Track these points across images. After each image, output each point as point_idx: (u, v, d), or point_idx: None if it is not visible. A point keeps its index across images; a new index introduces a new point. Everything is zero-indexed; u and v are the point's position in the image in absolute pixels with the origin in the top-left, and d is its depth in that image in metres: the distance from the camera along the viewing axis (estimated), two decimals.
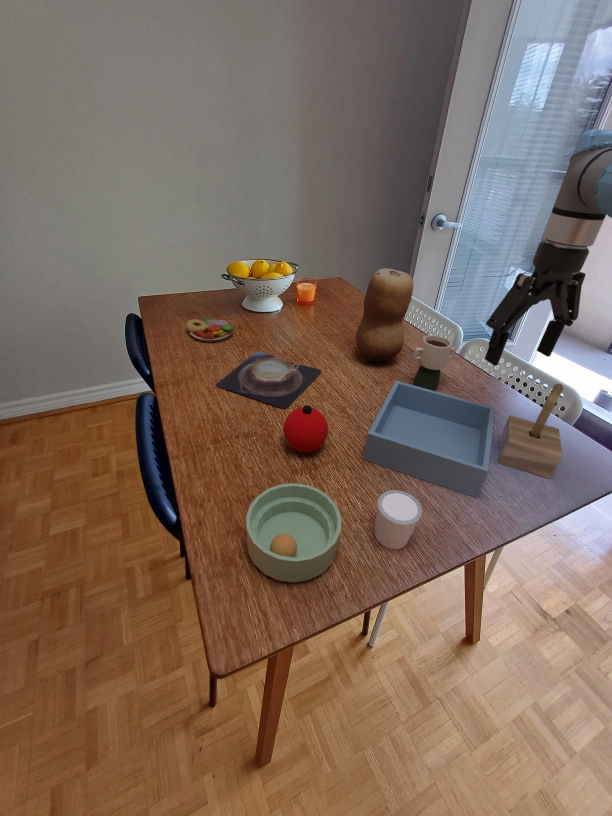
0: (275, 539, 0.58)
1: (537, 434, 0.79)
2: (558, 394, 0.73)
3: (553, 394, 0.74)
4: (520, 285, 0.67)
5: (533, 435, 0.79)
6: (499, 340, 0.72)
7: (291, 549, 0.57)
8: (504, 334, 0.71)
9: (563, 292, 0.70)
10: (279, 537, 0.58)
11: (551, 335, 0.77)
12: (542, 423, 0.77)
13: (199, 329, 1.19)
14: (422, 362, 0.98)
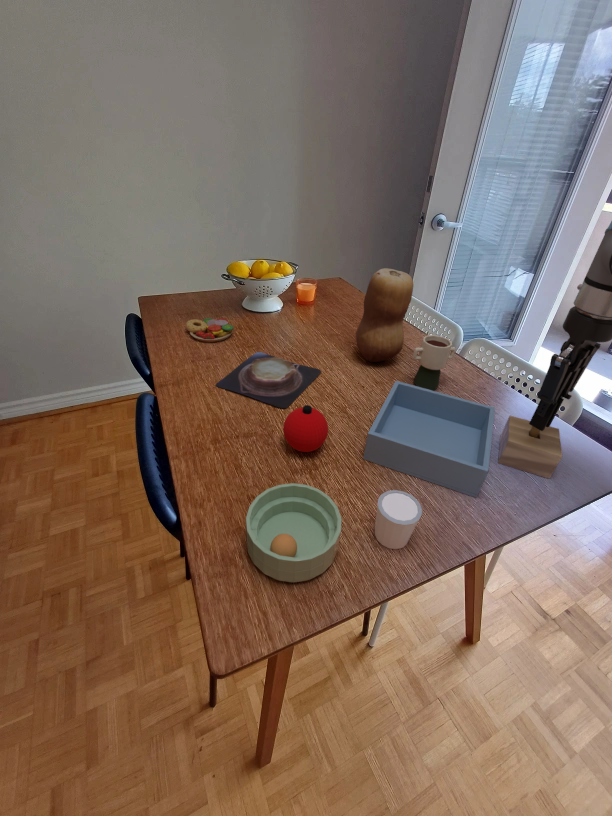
0: (275, 539, 0.58)
1: (536, 433, 0.79)
2: None
3: None
4: (558, 366, 0.67)
5: (532, 435, 0.80)
6: (548, 409, 0.74)
7: (291, 549, 0.57)
8: (553, 404, 0.74)
9: (588, 358, 0.69)
10: (279, 537, 0.58)
11: None
12: None
13: (199, 329, 1.19)
14: (422, 362, 0.98)
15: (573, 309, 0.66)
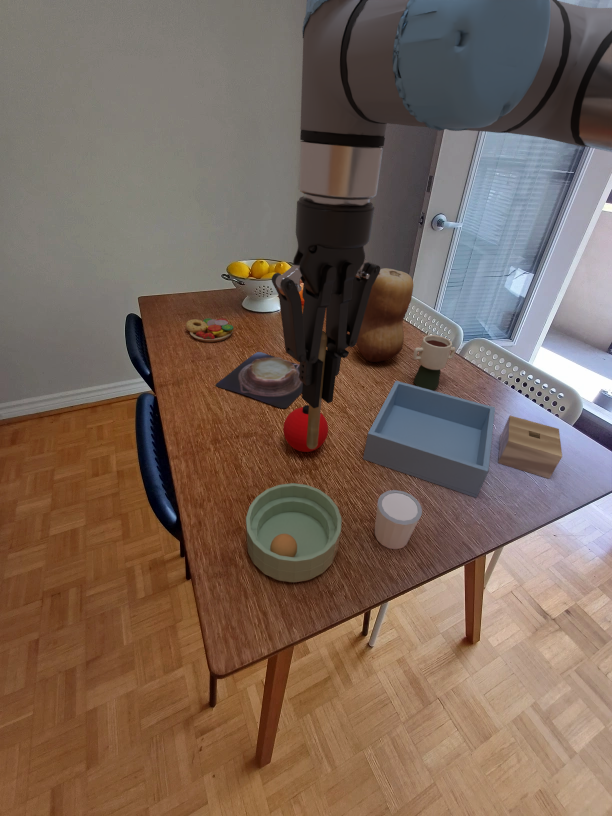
0: (275, 539, 0.58)
1: (314, 413, 0.52)
2: (320, 347, 0.47)
3: None
4: (283, 294, 0.40)
5: (310, 414, 0.53)
6: (311, 373, 0.48)
7: (291, 549, 0.57)
8: (315, 364, 0.47)
9: (347, 285, 0.42)
10: (279, 537, 0.58)
11: (325, 372, 0.50)
12: None
13: (199, 329, 1.19)
14: (422, 362, 0.98)
15: (303, 196, 0.39)
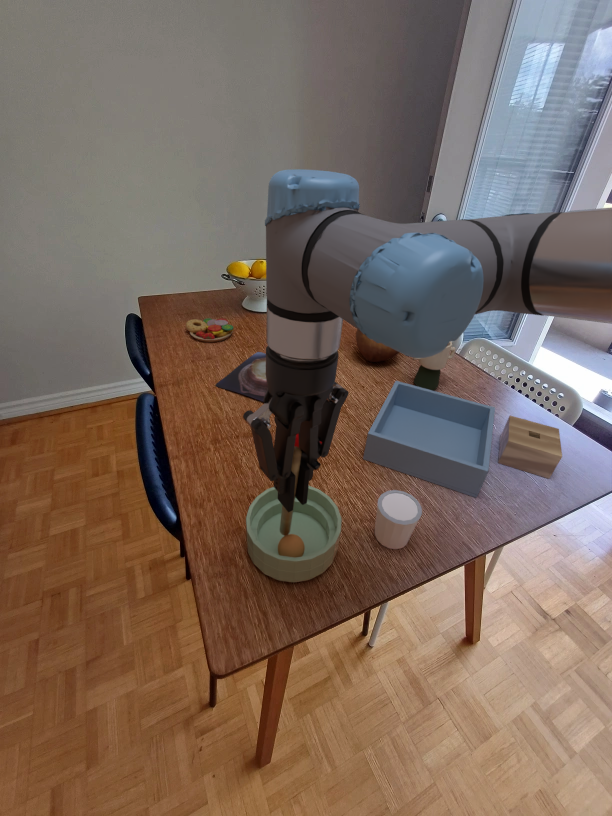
0: (289, 537, 0.58)
1: None
2: (297, 462, 0.49)
3: None
4: None
5: (286, 511, 0.56)
6: (284, 484, 0.50)
7: (301, 553, 0.58)
8: (288, 477, 0.49)
9: (316, 414, 0.45)
10: (294, 537, 0.58)
11: (299, 479, 0.52)
12: None
13: (199, 329, 1.19)
14: (422, 362, 0.98)
15: None
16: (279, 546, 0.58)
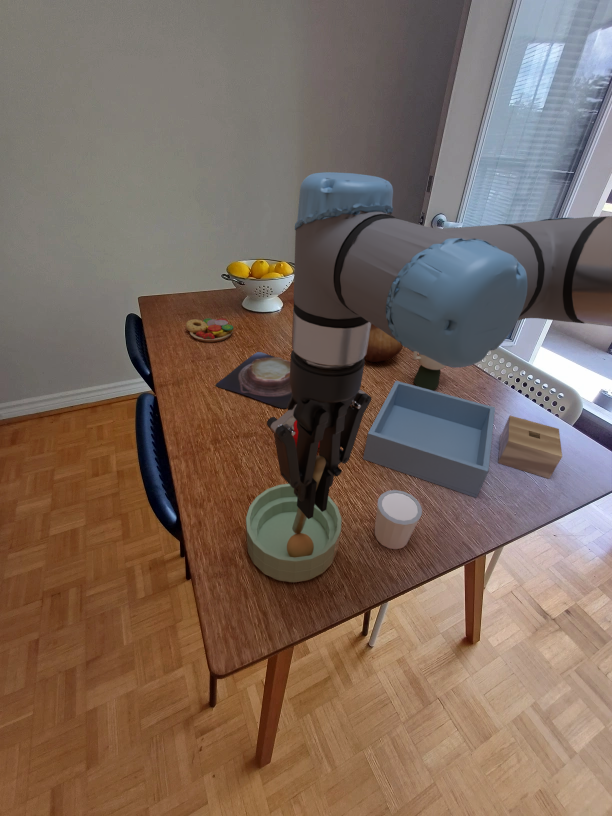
0: (306, 537, 0.59)
1: None
2: (323, 469, 0.49)
3: (319, 473, 0.48)
4: (278, 437, 0.42)
5: None
6: (305, 491, 0.49)
7: None
8: (309, 484, 0.49)
9: (340, 420, 0.44)
10: (310, 538, 0.59)
11: (319, 485, 0.51)
12: None
13: (199, 329, 1.19)
14: (422, 362, 0.98)
15: None
16: (294, 540, 0.58)
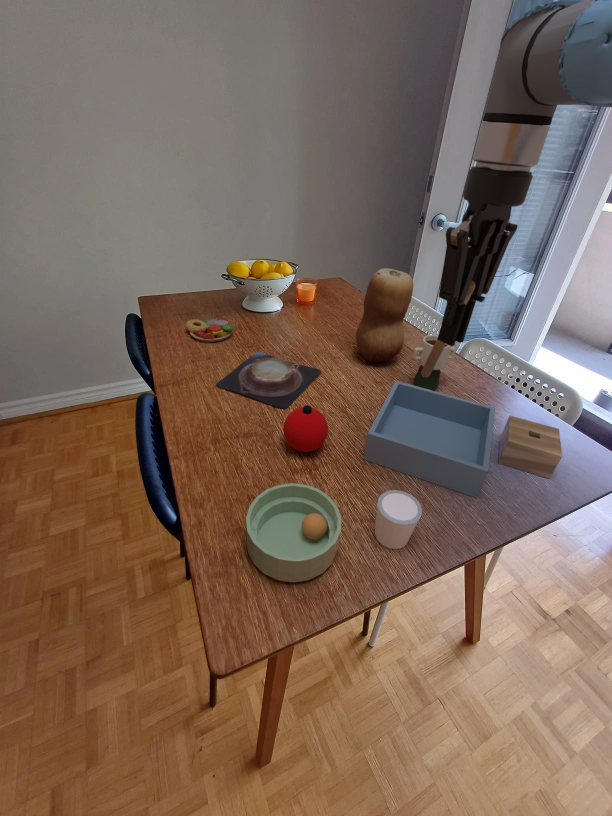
0: None
1: None
2: None
3: (468, 296, 0.58)
4: (455, 244, 0.51)
5: (441, 350, 0.64)
6: (455, 314, 0.58)
7: (325, 530, 0.61)
8: (460, 306, 0.58)
9: (497, 238, 0.53)
10: None
11: None
12: None
13: (199, 329, 1.19)
14: (422, 362, 0.98)
15: None
16: None
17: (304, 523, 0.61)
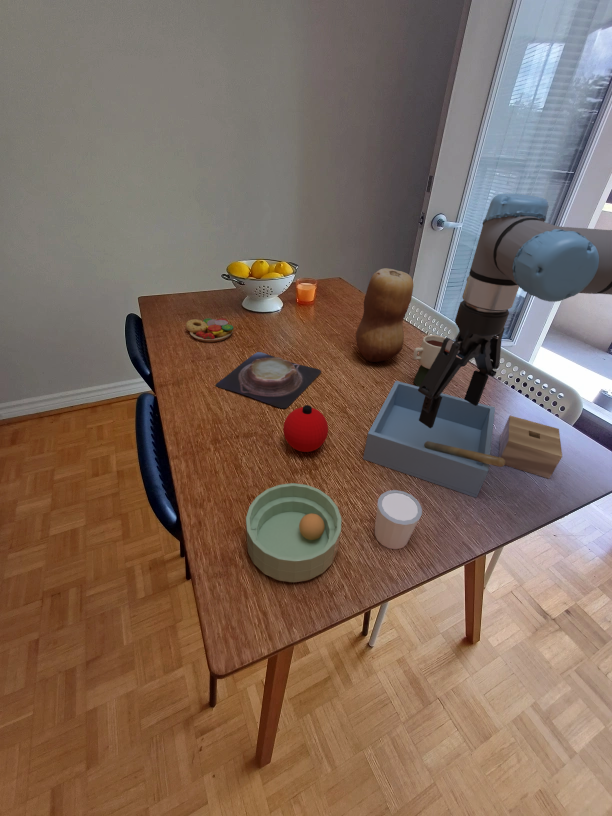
0: None
1: None
2: None
3: None
4: (448, 351, 0.63)
5: None
6: (432, 404, 0.68)
7: (321, 529, 0.61)
8: (437, 398, 0.68)
9: (487, 349, 0.68)
10: None
11: (477, 385, 0.76)
12: None
13: (199, 329, 1.19)
14: (422, 362, 0.98)
15: (462, 302, 0.64)
16: None
17: (300, 525, 0.62)
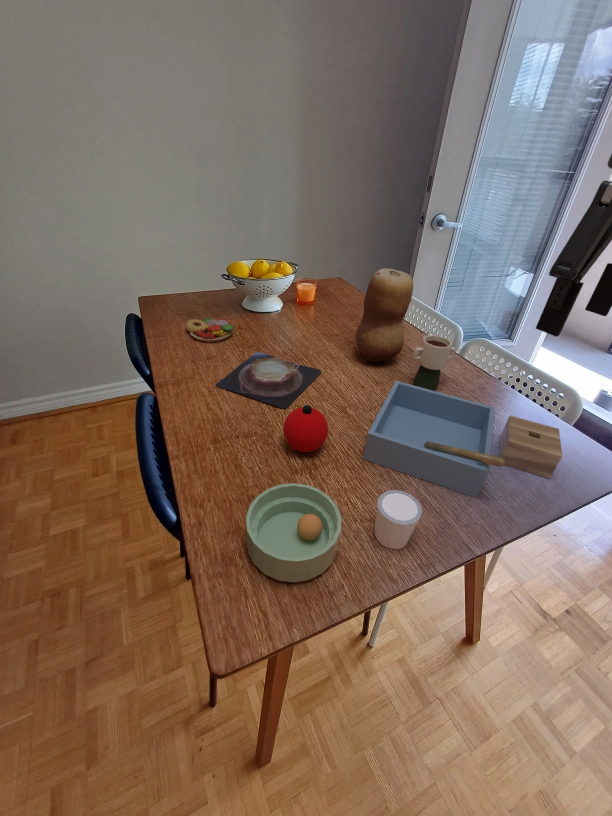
0: None
1: None
2: None
3: None
4: (608, 199, 0.41)
5: None
6: (567, 296, 0.46)
7: (319, 529, 0.61)
8: (576, 285, 0.45)
9: None
10: None
11: (611, 284, 0.54)
12: None
13: (199, 329, 1.19)
14: (422, 362, 0.98)
15: None
16: None
17: (297, 527, 0.62)
